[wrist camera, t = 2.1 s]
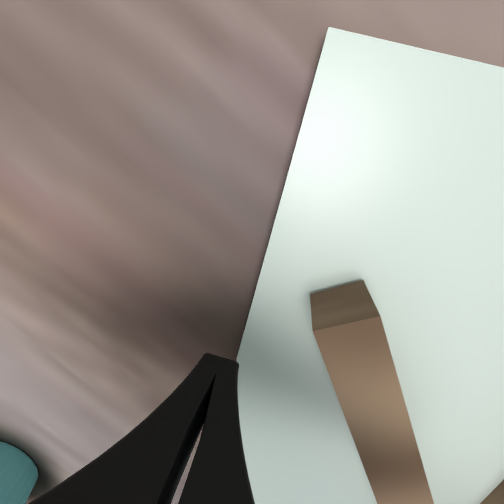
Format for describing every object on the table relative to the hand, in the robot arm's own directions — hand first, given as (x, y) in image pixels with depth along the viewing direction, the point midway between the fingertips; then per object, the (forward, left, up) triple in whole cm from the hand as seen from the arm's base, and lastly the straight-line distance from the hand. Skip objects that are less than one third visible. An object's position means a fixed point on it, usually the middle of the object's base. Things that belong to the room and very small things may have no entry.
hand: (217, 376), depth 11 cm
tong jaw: (-1, -7, -1) cm, 8 cm away
